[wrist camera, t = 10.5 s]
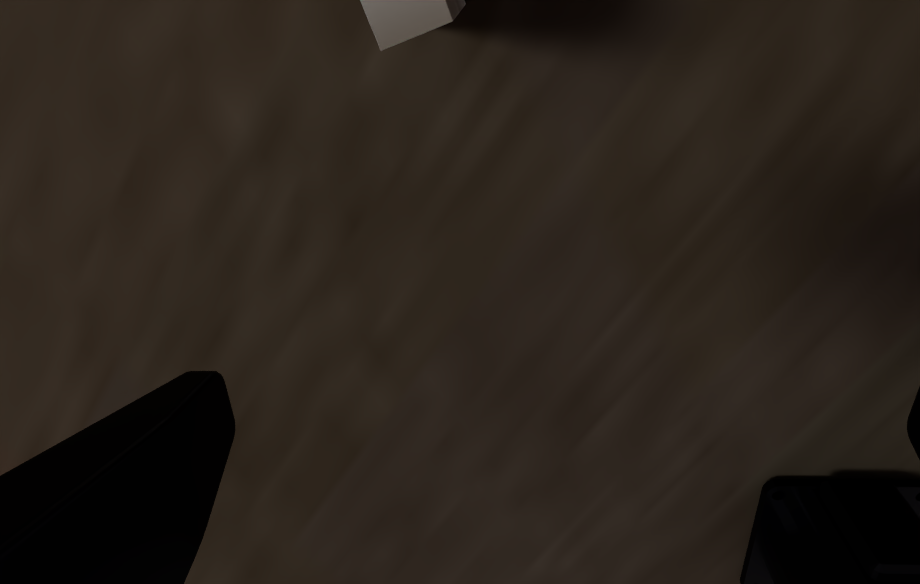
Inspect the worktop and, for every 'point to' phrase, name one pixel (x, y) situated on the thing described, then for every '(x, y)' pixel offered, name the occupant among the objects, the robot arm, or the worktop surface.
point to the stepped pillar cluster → (408, 18)
